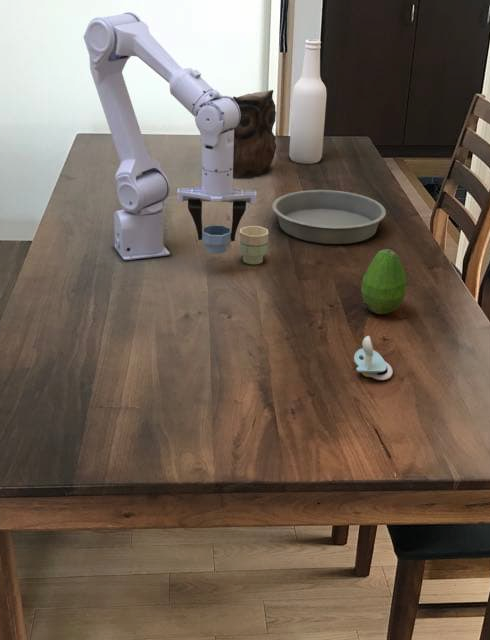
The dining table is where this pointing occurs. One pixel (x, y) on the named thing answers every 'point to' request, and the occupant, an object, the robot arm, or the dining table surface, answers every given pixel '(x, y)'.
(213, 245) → the blue bowl
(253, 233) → the ivory bowl
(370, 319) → the dining table surface
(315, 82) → the alcohol
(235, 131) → the owl
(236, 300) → the dining table surface
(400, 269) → the avocado
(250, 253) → the celadon bowl
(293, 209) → the cake pan
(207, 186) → the robot arm
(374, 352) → the pacifier
